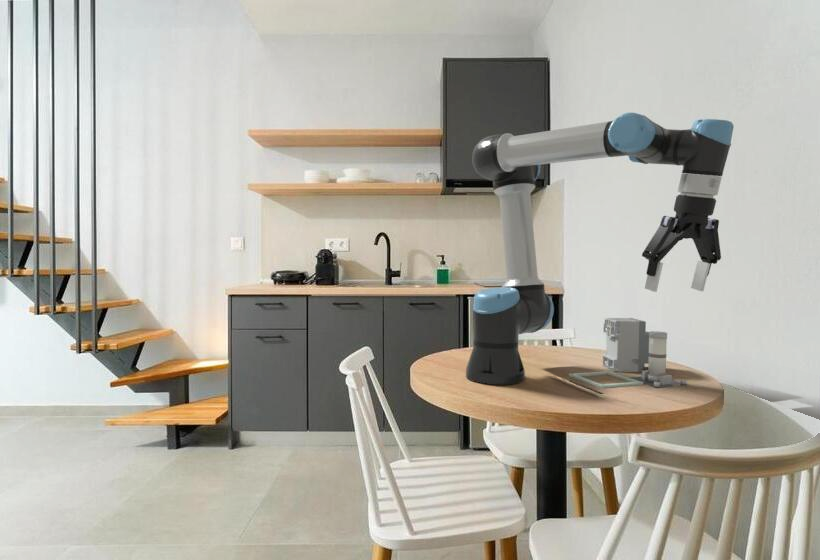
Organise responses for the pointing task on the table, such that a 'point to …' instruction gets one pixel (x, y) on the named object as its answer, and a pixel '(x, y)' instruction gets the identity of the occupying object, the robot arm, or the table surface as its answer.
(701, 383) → the table surface
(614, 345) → the circuit breaker
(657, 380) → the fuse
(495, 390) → the table surface
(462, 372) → the table surface
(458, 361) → the table surface
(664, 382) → the block
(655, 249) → the robot arm
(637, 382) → the tray
